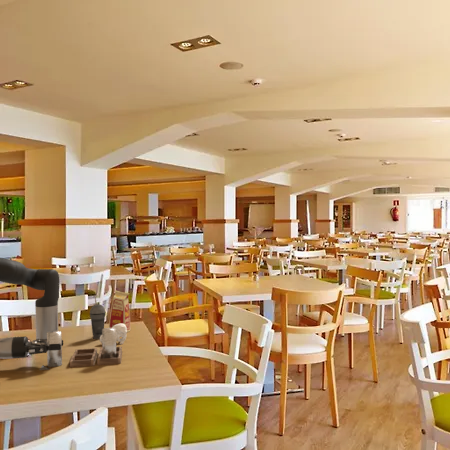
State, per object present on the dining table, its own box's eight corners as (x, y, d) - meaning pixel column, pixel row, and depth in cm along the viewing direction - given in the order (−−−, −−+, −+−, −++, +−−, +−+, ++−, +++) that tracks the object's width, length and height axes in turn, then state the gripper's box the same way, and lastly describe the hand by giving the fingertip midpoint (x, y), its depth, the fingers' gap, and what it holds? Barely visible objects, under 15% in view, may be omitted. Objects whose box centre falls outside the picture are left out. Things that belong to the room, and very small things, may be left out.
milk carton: (108, 333, 235) (107, 291, 235) (115, 328, 244) (115, 289, 244) (126, 333, 233) (125, 291, 233) (133, 329, 242) (132, 289, 242)
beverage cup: (102, 340, 220) (101, 296, 220) (87, 339, 221) (86, 295, 221) (108, 336, 227) (108, 293, 227) (94, 336, 228) (93, 293, 228)
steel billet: (45, 364, 178) (44, 332, 178) (58, 362, 181) (58, 330, 181) (50, 367, 174) (49, 334, 174) (64, 364, 177) (63, 332, 177)
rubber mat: (44, 365, 181) (44, 363, 181) (69, 363, 183) (69, 361, 183) (39, 372, 172) (39, 370, 172) (65, 370, 174) (65, 368, 174)
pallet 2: (100, 355, 193) (100, 347, 193) (122, 353, 195) (122, 346, 195) (96, 368, 176) (96, 359, 176) (121, 366, 178) (120, 358, 178)
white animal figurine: (126, 324, 211) (98, 329, 208) (129, 343, 212) (100, 348, 208) (125, 321, 217) (97, 326, 214) (127, 340, 218) (100, 345, 214)
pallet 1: (75, 357, 192) (75, 349, 192) (97, 355, 193) (97, 348, 193) (69, 369, 174) (69, 361, 174) (94, 368, 176) (93, 359, 176)
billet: (100, 361, 181) (99, 329, 181) (112, 358, 185) (111, 327, 185) (106, 363, 178) (105, 331, 178) (118, 361, 181) (118, 329, 181)
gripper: (7, 342, 168) (58, 339, 171) (17, 332, 182) (64, 330, 185) (7, 363, 168) (59, 360, 171) (17, 352, 182) (65, 350, 185)
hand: (61, 344), depth 178 cm, fingers closed on steel billet, 5 cm apart
